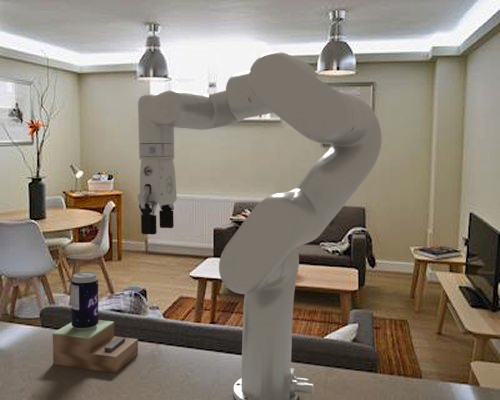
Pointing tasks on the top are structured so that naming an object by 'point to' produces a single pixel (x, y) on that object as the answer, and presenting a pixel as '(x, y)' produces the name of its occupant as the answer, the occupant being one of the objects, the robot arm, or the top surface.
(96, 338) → the stand
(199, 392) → the top surface
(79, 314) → the beverage can
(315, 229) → the robot arm
